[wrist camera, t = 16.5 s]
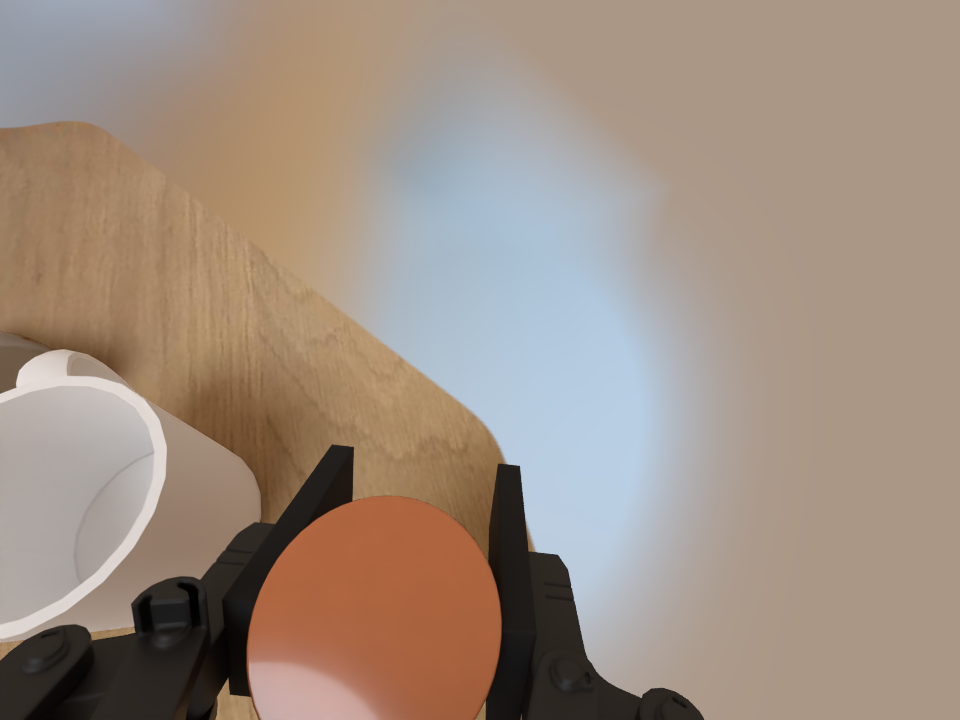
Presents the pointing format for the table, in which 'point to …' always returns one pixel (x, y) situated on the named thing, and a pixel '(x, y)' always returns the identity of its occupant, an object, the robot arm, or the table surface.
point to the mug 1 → (16, 357)
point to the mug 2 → (104, 497)
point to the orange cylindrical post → (376, 619)
